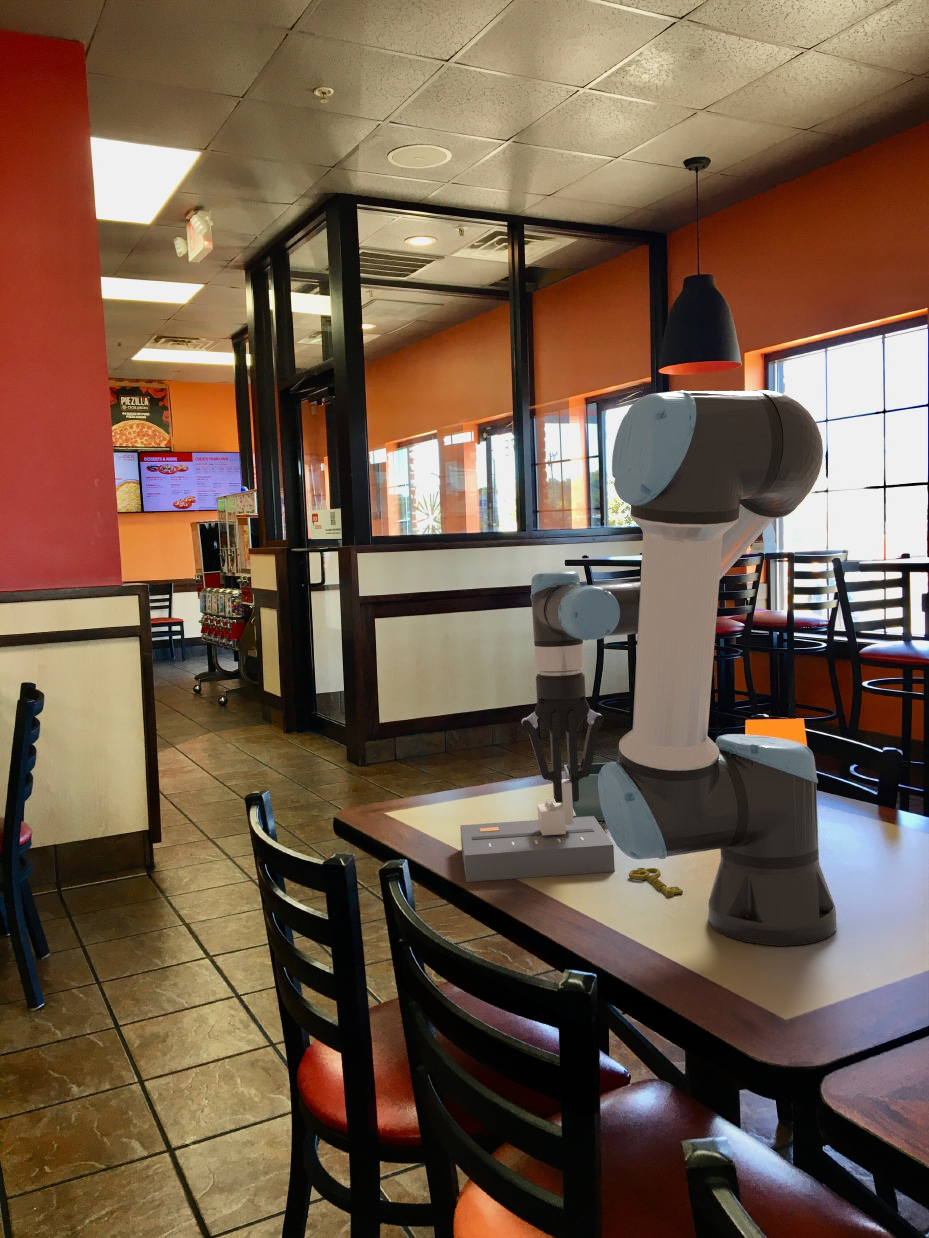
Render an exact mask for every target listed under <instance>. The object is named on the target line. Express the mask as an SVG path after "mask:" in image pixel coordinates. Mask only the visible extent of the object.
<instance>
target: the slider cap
mask: <svg viewBox="0 0 929 1238" xmlns="http://www.w3.org/2000/svg"><path fill="white" fill-rule="evenodd" d="M536 805H537V808H536V809H537V820H538V827H539V829H540V831H541V833H542V835H556V834H566V827H565V810H564V809H563V807H562V805H561V803H556V802H553V800H552V799H545V803H537V804H536Z"/></svg>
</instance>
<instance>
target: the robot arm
mask: <svg viewBox="0 0 929 1238" xmlns="http://www.w3.org/2000/svg"><path fill="white" fill-rule="evenodd" d="M823 447H824V446H823V439H822V435H821V432H820V429H819V426H818V424H817V423H816V421H815V419H814V418H813V415H811V412H810V411H808V410H807V409H806V408H805V407H804V406H803V405H802V404H801V403H800V402H798V401H797V400H795V399H793V398H792V397H790V396H788V395H785V394H783V393H780V392H778V391H774V390H773V391H772V390H764V389H763V390H757V389H756V390H749V391H745V390H741V391H740V390H736V391H735V390H734V391H733V390H729V391H728V390H727V391H724V390H723V391H722V390H721V391H720V390H719V391H718V390H717V391H715V390H711V391H710V390H709V391H708V390H704V391H702V390H700V391H698V390H695V391H691V390H689V391H687V390H682V389H680V390H674V391H666V392H665V391H664V392H658V393H657V392H656V393H655V392H654V393H650V394H649V393H648V394H647V395H643V396H642V397H641V398H638V400H636V401H635V402H634V403H633V404H632V405H631V406H630V407H629V408H628V411H627V412H626V414H624V416H623V418H622V419H621V423H620V425H619V427H618V429H617V433H616V435H615V439H614V445H613V450H612V457H611V474H612V477H613V478H614V482H613V486H614V490H615V492H616V494H617V495H618V497H619V498H620V500H622V502H623V503H626V504H628V505H630V513H629V517H630V518H631V520H633V521H634V523H636V524H637V526H638V527H639V528H640V529H641V531H642V551H641V569H640V581H633V582H632V581H631V582H621V583H607V584H606V583H605V584H604V583H603V584H590V585H589V584H586V585H584V584H582V585H581V579H580V576H579V573H577V571H572V570H570V571H552V572H551V571H550V572H539V573H538V572H537V573H535V574H534V575H533V576H532V578H531V581H530V582H531V584H530V586H531V587H530V588H531V589H530V591H531V593H530V600H531V612H532V613H531V614H532V628H533V631H532V632H533V640H534V641H533V646H534V662H535V663H534V665H535V667H534V668H535V669H534V670H535V671H536V672H539V673H538V674H536V675H535V685H536V686H535V688H536V703H535V706H534V707H533V708H534V709H533V712H532V713H531V714H529V715H528V716H527V717H522V719H521V721H520V723H521V725H522V726H523V728H524V729H525V731H526V732H527V733H528V736H529V739H530V742H531V745H532V749H533V752H534V756H535V759H536V762H537V765H538V769H539V772H540V775H541V777H542V779H543V780H546V781H551V782H552V789H553V790H552V793H553V799H554V801H555V803H561V805H562V807H563V809H564V810H565V825H573V824H574V822H573V817H574V809H573V802H577V801H578V800H579V785H578V782H579V780H580V779H581V778H584V777H588V776H589V775H590V771H591V765H592V764H593V759H594V754H595V749H596V744H597V738H598V734H599V729H601V727H602V725H603V723H604V721H605V717H604V716H603V715H602V714H601V713H600V712H595V711H594V710H593V709H591V707H590V704H589V702H588V701H587V696H586V693H587V692H586V678H585V677H586V676H585V675H586V674H585V673H584V672H583V671H582V670H583V669H584V668H585V659H584V657H585V656H584V641H591V640H594V641H595V640H602V639H604V638H606V637H612V636H623V635H634V634H635V635H636V634H637V642H636V644H637V645H636V660H635V663H636V664H635V678H634V679H635V681H634V699H633V700H634V701H633V715H632V716H633V717H632V719H633V720H632V729H631V730H630V731H627V733H625V734H624V735H623V736H622V737H621V738H620V739H619V742H618V754H617V755H618V756H617V761H609V762H606V763H607V764H605V765H604V766H603V767H602V768H601V770H600V772H599V777H598V792H599V800H600V805H601V809H602V813H603V816H604V819H605V821H604V822H605V825H606V827H607V830H608V831H609V834H610V836H611V838H612V840H613V841H614V843H615V845H616V846H617V847H618V848H619V850H620V851H621V852H622V853H623V854H624V855H626V856H627V857H629V858H630V859H634V860H649V859H659V860H664V859H666V858H668V857H672V856H673V857H675V856H681V855H686V854H693V853H700V852H706V851H707V852H709V851H714V850H715V851H716V850H720V859H719V861H720V862H719V863H718V864H719V865H718V869H717V871H716V875H715V877H714V878H715V879H714V881H713V885H712V889H711V892H710V896H709V899H708V908H707V909H708V921H709V923H710V925H711V926H712V928H713V929H714V930H716V931H717V932H719V933H721V934H723V935H725V936H727V937H730V938H732V939H735V940H739V941H743V942H746V943H751V944H758V945H767V946H799V945H807V944H812V943H817V942H819V941H824V939H828V938H829V937H831V936H832V935H833V934H834V933H835V932H836V930H837V909H836V904H835V903H834V900H833V898H832V897H833V896H832V894H831V891H830V889H829V886H828V884H827V881H826V878H825V876H824V874H823V870H822V867H821V865H820V857H819V854H820V853H819V820H818V796H817V795H818V794H817V792H818V791H817V784H818V783H819V779H818V777H817V775H818V774H817V768H816V761H815V756H814V753H813V751H812V750H811V749H810V748H809V746H808V745H807V746H805V745H803V744H801V743H798V742H795V741H791V740H786V739H781V738H775V737H768V736H759V735H745V734H744V733H743V734H742V733H739V734H737V733H732V734H731V733H730V734H729V733H727V734H722V735H718V736H717V737H716V739H715V742H714V741H713V739H711V738H710V737H709V736H708V733H709V732H708V731H709V718H710V707H711V696H712V695H711V691H712V679H713V669H714V666H713V665H714V655H715V653H714V652H715V642H716V631H717V630H716V628H717V615H718V605H719V603H718V601H719V590H720V589H719V588H720V580H721V579H722V578H723V577H724V576H725V574H727V572H728V571H729V570H730V569H731V568H732V567H733V566H734V564H735V563H736V562H737V561H738V560H739V559H740V558H741V556H743V554H744V553H746V551H747V550H748V549H749V547H751V546H752V544H753V543H754V542H755V541H756V540H757V539H758V537H760V535H761V534H762V533H763V532H764V531H765V530H766V528H768V527H769V526H770V524H771V523H772V522H773V521H774V520H776V519H782V518H784V517H787V516H789V515H790V514H791V513H793V512H794V511H795V510H796V508H798V507H799V506H800V504H802V502H803V501H804V500H805V499H806V497H807V496H808V495H809V494H810V492H812V489H813V488H814V486H815V483H816V482H817V480H818V477H819V475H820V473H821V468H822V465H823V458H824V448H823ZM586 717H587V719H586ZM585 719H586V722H587V723H588V726H587V730H586V735H585V741H584V744H583V745H584V747H583V750H582V756H581V757H582V758H581V762H580V764H581V766H580V768H579V769H578V764H579V760H578V759H579V757H578V744H577V743H578V740H577V739H578V733H577V731H578V729H579V728H580V726H581V725H582V724H583V721H584V720H585ZM538 720H540V722H541V723H542V724H543V726H544V727H545V728H546V729H547V730H548V731H549V738H550V739H549V740H550V756H551V757H550V759H551V760H550V761H551V770H549V768H548V764H547V760H546V757H545V754H544V753H545V752H544V751H543V750H544V749H543V748H542V747H543V746H542V745H541V744H542V743H541V741H540V737H539V734H538V731H537V728H538V726H539V724H538ZM563 732H565V735H566V751H567V753H566V754H567V765H568V772H569V779H566V778H563V777H562V776H563V775H562V756H561V755H562V753H561V733H563Z"/></svg>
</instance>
